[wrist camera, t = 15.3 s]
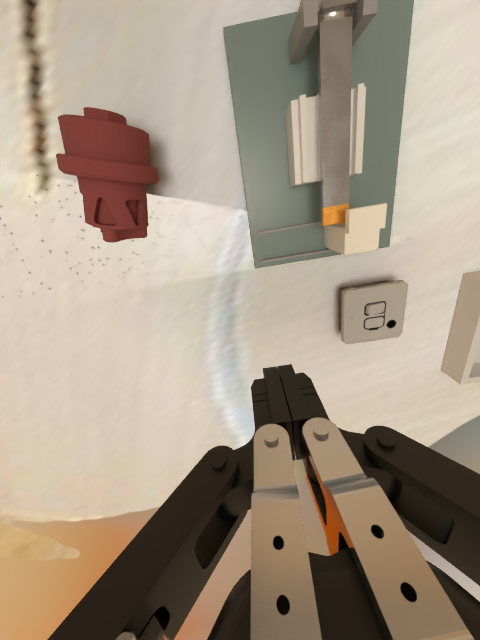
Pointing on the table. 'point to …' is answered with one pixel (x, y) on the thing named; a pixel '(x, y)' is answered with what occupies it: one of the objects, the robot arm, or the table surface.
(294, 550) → the robot arm
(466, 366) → the tray
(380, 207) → the cream block
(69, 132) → the mechanical component
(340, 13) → the lever
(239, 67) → the board
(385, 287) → the electrical switch
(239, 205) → the table surface
